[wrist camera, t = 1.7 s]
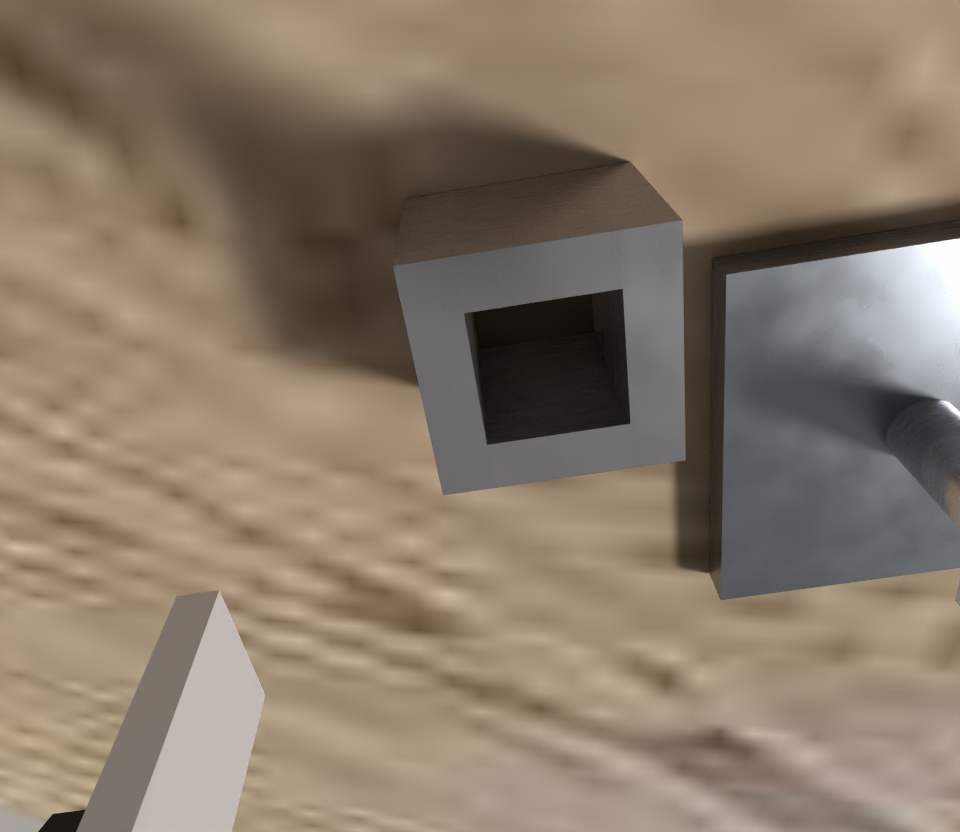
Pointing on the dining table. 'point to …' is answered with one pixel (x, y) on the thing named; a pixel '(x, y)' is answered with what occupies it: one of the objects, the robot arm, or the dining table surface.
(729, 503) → the shaft stand
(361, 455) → the dining table surface
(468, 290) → the grey square sleeve
